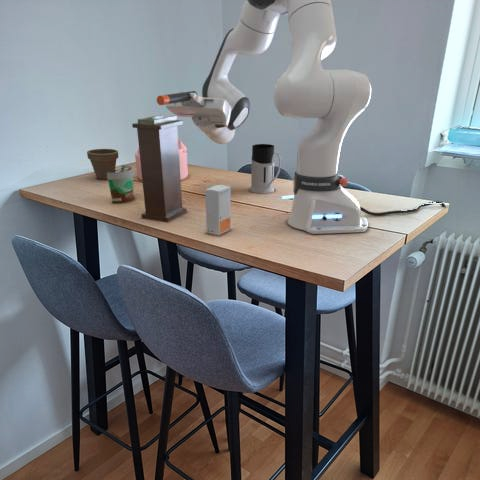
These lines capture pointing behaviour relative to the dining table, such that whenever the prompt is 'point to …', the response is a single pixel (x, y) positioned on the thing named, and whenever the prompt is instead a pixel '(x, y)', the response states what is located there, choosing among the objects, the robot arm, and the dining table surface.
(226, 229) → the cosmetic box
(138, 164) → the cake
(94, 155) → the flower pot
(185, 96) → the marker
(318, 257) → the dining table surface
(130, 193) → the food container
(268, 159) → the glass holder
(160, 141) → the stand
